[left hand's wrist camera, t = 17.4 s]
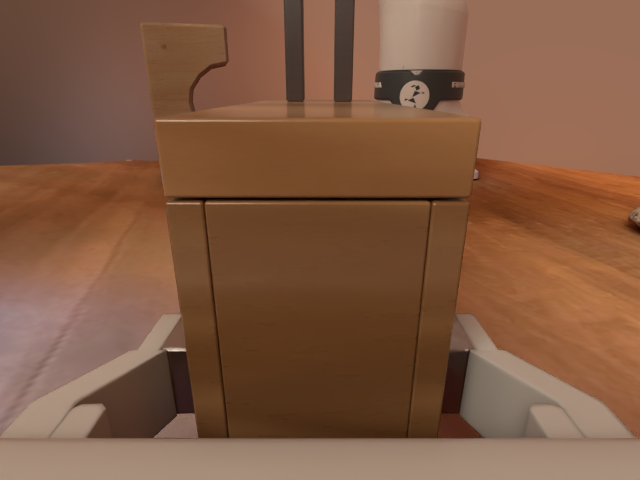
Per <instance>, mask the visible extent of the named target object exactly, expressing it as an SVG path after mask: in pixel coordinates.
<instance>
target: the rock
mask: <svg viewBox="0 0 640 480" xmlns="http://www.w3.org/2000/svg"><path fill="white" fill-rule="evenodd" d="M628 221H631V222H634V223H636V224H637V225H638V226H640V206H638V207H637V208H635V209H634V210H633V211H632V212H631V213H630V215H629V217H628Z"/></svg>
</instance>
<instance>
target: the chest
mask: <svg viewBox="0 0 640 480" xmlns="http://www.w3.org/2000/svg"><path fill="white" fill-rule="evenodd" d="M165 207H166V214H167V221H168V228H169V235H170V242H171V249H172V256H173V263H174V270H175V277H176V284H177V291H178V298H179V305H180V312H181V319H182V326H183V333H184V340H185V347H186V354H187V361H188V368H189V375H190V382H191V389H192V396H193V403H194V410H195V417H196V424H197V431H198V438H437V437H438V430H439V423H440V416H441V408H442V401H443V394H444V387H445V380H446V373H447V366H448V358H449V351H450V344H451V337H452V330H453V323H454V316H455V308H456V301H457V294H458V287H459V280H460V273H461V266H462V258H463V251H464V244H465V237H466V230H467V223H468V216H469V208H470V204H469V202H468V201H467V200H465V199H464V198H171V199H169V200H168V201H166V203H165Z"/></svg>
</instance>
